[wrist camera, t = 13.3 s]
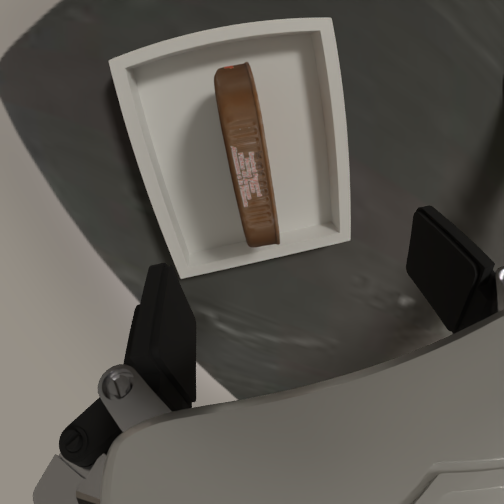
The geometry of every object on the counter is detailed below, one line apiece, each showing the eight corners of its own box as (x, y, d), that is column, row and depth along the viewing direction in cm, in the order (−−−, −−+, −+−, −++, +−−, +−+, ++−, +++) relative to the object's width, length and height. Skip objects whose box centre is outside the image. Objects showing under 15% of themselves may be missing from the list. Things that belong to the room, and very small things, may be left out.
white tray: (318, 23, 20) (331, 17, 17) (339, 225, 32) (350, 240, 30) (119, 61, 20) (108, 60, 17) (182, 260, 32) (180, 278, 30)
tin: (271, 214, 30) (291, 264, 23) (240, 221, 30) (251, 272, 23) (245, 63, 21) (262, 56, 14) (208, 70, 21) (207, 66, 14)
